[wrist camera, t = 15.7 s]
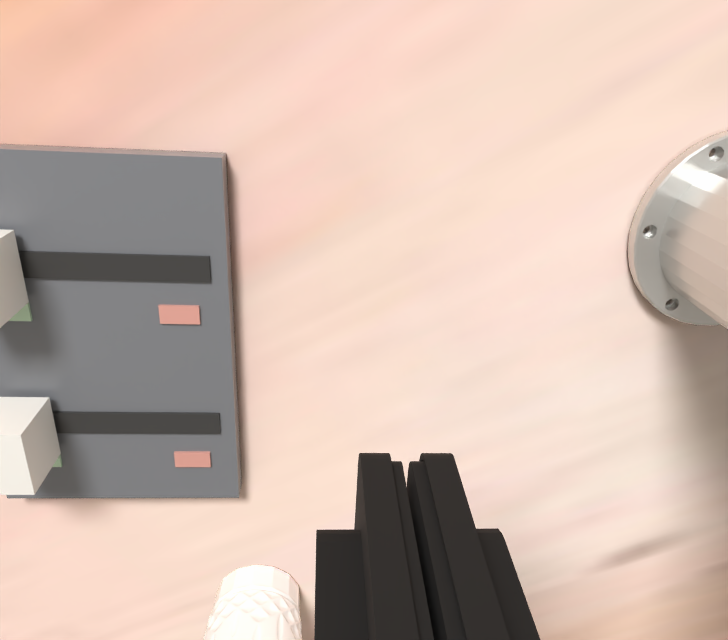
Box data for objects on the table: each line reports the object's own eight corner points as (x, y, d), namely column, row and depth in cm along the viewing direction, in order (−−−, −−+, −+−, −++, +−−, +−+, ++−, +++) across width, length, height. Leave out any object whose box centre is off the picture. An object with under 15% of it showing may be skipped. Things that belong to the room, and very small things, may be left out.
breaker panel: (225, 152, 34) (221, 158, 33) (241, 483, 44) (238, 499, 43) (-69, 141, 33) (-88, 146, 31) (17, 483, 43) (5, 500, 42)
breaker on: (49, 397, 38) (20, 435, 34) (60, 453, 40) (34, 494, 36) (0, 396, 38) (-35, 434, 34) (14, 453, 40) (-17, 494, 36)
